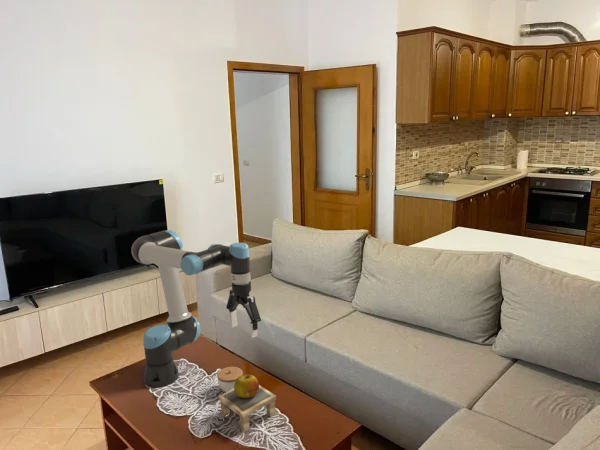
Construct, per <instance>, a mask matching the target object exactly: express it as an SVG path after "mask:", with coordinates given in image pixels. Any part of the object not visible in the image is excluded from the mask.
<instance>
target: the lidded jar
mask: <svg viewBox="0 0 600 450" xmlns="http://www.w3.org/2000/svg"><path fill="white" fill-rule="evenodd" d="M243 373H244V372H243V370H242V369H241V368H240V367H237V366H227V367H224V368H222V369H219V371H218V372H217V374H216V377H217V383H218V386H219V388H220V389H221V390H222V391H223V392H224V391H225V392H228V391H230V390H232V389H234V384H235V381H236V379H237V378H238V377H239V376H242V375H244V374H243ZM225 392H224V393H225Z"/></svg>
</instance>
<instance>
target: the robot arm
mask: <svg viewBox="0 0 600 450" xmlns="http://www.w3.org/2000/svg"><path fill="white" fill-rule="evenodd" d="M183 248H184V247H183V242H182V238H181V237H180V236H179V234H178V233H176V231H173V230H171V229H167V230H161V231H158V232H153V233H150V234H147V235H141V236H140V237H138V238H137V239H136V240H134V242H133V243H132V246H131V255H132V257H133V259H134V260H135V261H136V262H137V263H140V264H141V265H142V264H144V265H152V264H154V265H155V266H157V267H158V272H159V275H160V276H159V277H160V281H161V285H162V290H163V294H164V299H165V303H166V308H167V311H168V318H167V319H166V324H167V325H166V324H159V325H155V326H152V327H150V328H149V329H147V330H146V331H145V332H144V334H143V344H142V345H143V347H144V348H143V349H144V355H145V356H144V358H145V369H144V374H143V382H144V384H145V385H146V386H147V387H150V388H162V387H166V386H168V385H171V384H173V383H174V382H176V380H178V378H179V376H180V374H179V373H180V372H179V369H178V366H177V365H176V363H175V361H174V355H173V353H174V352H176V351H178V350H180V349H181V348H184V347H185V346H188V345H190V344H192V343H193V342H195V341H197V340H198V338H199V337H200V334H201V324H200V321H199V320H198V319H197V317H196V316H194V315H193V313H191V312H189V310H188V305H187V301H186V296H185V291H184V287H183V282H182V278H181V273H180V270H181V271H182V272H183V273H185V275H186V276H192V275H199V273H202V272H206V271H207V270H210V269H214V268H217V267H219V266H221V265H224V266H228V267H230V275H231V276H230V277H231V278H230V279H231V289H230V290H229V295H228V299H227V303H226V309H227V310H228V312H229V315H230V327H231V328H234V327H238V311H237V307H238V306H239V305H241V306H242V307H243V309H244V310H245V312H246V313H247V315H248V317H249V320H250V322H249V324H250V325H249V326H250V338H252V339H253V338H256V337H258V335H259V334H258V327H259V325H258V324H259V322H262V319H261V315H260V311H259V309H258V306H257V303H256V297H255V296H250V292H252V282H251V279H252V277H251V267H250V266H251V265H250V264H251V263H250V261H251V260H250V256H251V253H250V249H249V244H247V243H245V242H234V243H233V242H232V243H231V244H230V245H229V246H228V245H223V244H219V243H213V244H211V245H210V246H209V247H207V249H204V250H201V251H198V252H195V251H189V250H184V249H183Z"/></svg>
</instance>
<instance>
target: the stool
mask: <svg viewBox="0 0 600 450" xmlns="http://www.w3.org/2000/svg"><path fill="white" fill-rule="evenodd" d="M276 400H277V395H276V394H274V393H272V392H271V391H269V390H268V389H266V388H264V387H263V386H261V384H259V390H258V392H257V394H256V395H254V396H253V397H249V398H242V397H239V396H238V395H237V394H236V393H235V390H234V389H232V390H230V391H228V392H226V393H225V392H224V393H222V394H220V395H218V401H219V402H220V410H221V411H220V412H221V413H222V414H223V415H224V416H226V415H228V414H230V415H231V410H232V411H233V412H234V413H236V414H237V415H238V416H239V427H240V430H241V431H242V430H243V431H244V433H246V432H247V431H249V430H250V415H251V414H253V413H254V412H257V411H259V410H260V409H262V408H264V407H266V415H267V414H268V415H267V416H269V415H270V416H271V417H273V416H274V414H275V415H276ZM222 414H221V415H222ZM223 415H222V416H223ZM272 415H273V416H272ZM224 416H223V417H224ZM228 416H229V415H228ZM270 416H269V417H270ZM226 417H227V416H226ZM248 429H249V430H248ZM243 431H242V432H243ZM245 431H246V432H245Z"/></svg>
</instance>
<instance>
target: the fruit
mask: <svg viewBox="0 0 600 450" xmlns="http://www.w3.org/2000/svg"><path fill="white" fill-rule="evenodd" d="M259 385H260V383H259V381H258V379H257V377H256V376H254V375H253V374H243V375H242V376H239V377H238V378H237V379H236V381H235V384H234V390H235V393H236V394H237V395H238V396H239V397H242V398H249V397H253V396H254V395H256V394H257V392H258V390H259Z"/></svg>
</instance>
